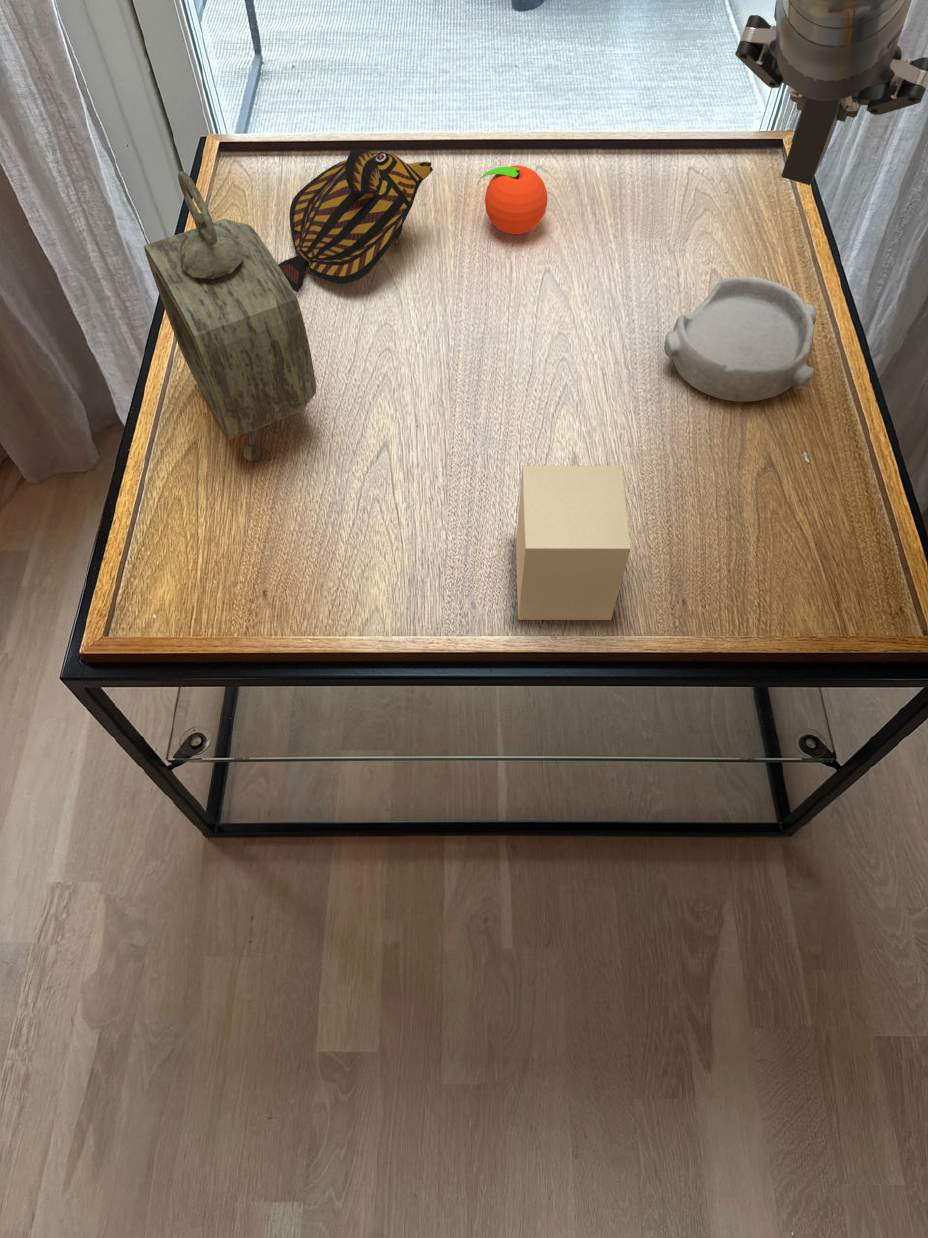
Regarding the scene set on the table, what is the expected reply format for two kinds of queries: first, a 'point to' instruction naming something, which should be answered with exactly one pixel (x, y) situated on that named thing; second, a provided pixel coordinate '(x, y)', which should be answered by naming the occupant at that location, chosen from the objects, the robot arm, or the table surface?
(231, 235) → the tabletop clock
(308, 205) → the decorative fish sculpture
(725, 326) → the dish
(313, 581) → the table surface
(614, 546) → the stand
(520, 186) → the clementine
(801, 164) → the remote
